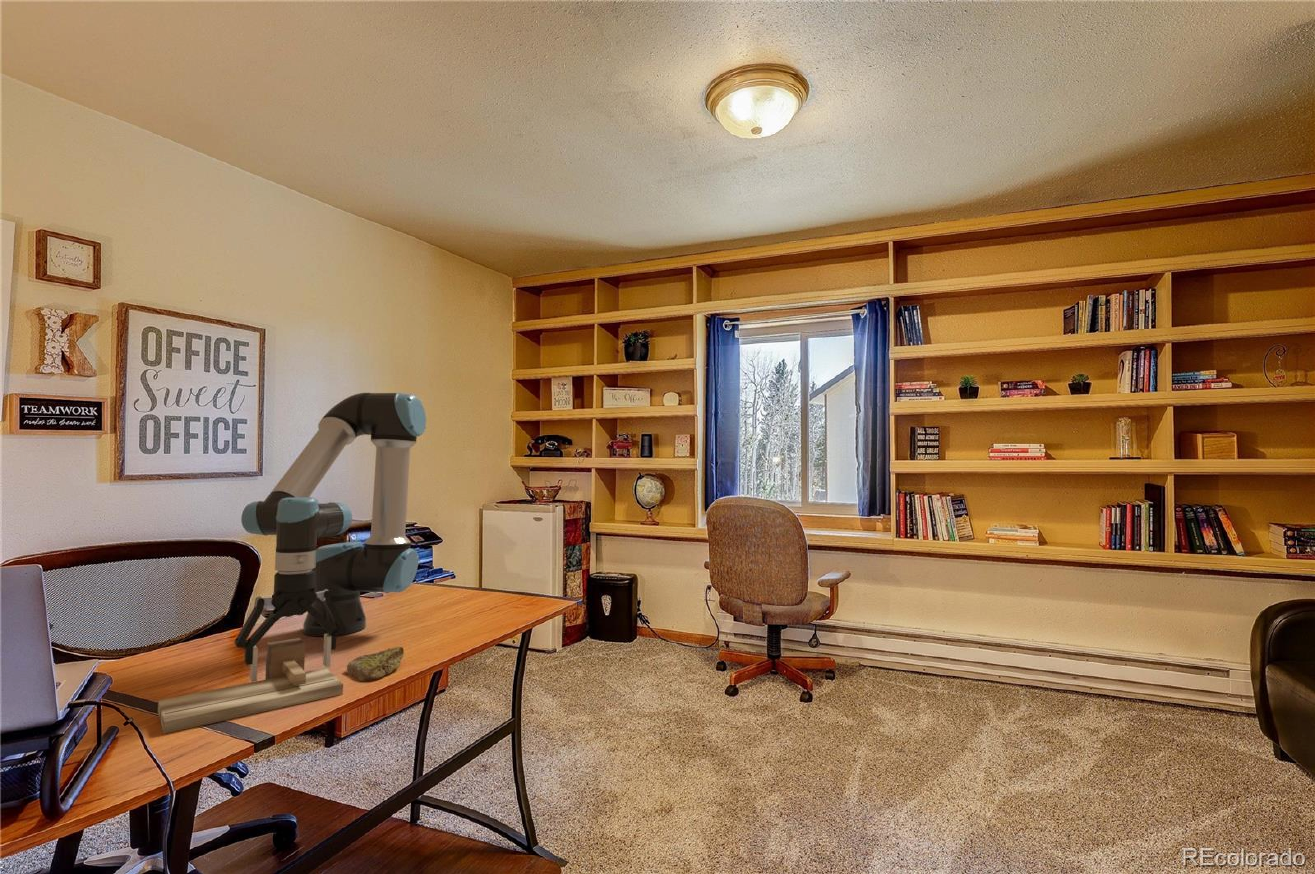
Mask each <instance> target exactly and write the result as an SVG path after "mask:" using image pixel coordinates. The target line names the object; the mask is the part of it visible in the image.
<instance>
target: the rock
mask: <svg viewBox="0 0 1315 874" xmlns="http://www.w3.org/2000/svg"><path fill="white" fill-rule="evenodd" d="M404 652H405V649H404V648H403V647H402V646H397V647H393V648H388V649H385V650H381V651H380V652H379V651H378V652H376V653H370V654H364V655H362V656H361V655H360V656H357V657H355V658H354V659H353V660H351V661H350V662H348V664H347V666H346V671H347V675H351V676H354V677H355V678H357V680H358V681H360V682H364V681H366V682H367V681H372V680H377V679H380V678H382V677H384V676H386V675H389V674H391V673H392V672H394V671H395V670H396V669H397V668H398V667H400V666H401V660H402V659H403V658H404Z"/></svg>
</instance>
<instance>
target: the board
mask: <svg viewBox="0 0 1315 874" xmlns="http://www.w3.org/2000/svg"><path fill="white" fill-rule="evenodd" d="M305 672H306V683H305V684H300V686H299V687H296V685H295V686H294V685H293V684H292V683H291V681H290V680H289V679H288V678H287V677H286V676H282V677H277V678H272V679H266V680H265V679H262V680H257V681H254V682H252V681H251V682H246V683H242V684H237V685H231V686H226V687H221V688H215V689H209V690H205V691H200V692H194V693H190V694H184V695H180V696H174V697H168V698H165V699H159V700H157V714H158V718H159V721H160V724H161V725H160V726H161V729H162V733H163V735H166V734H170V733H174V732H179V731H183V730H187V729H192V728H196V727H200V726H201V727H202V726H206V725H210V724H215V723H218V722H224V721H227V720H233V719H236V718H241V717H245V716H251V715H254V714H259V713H264V712H268V711H272V710H277V709H281V708H287V707H292V706H295V705H300V704H303V703H309V702H313V701H317V700H322V699H326V698H331V697H336V696H340V695H343V694H344V683H343V682H342V681H341V680H340V679H339V678H338V677H336V675H335V674H333V673H332V672H331V671H330V670H329V669H328V667H325V668H319V669H314V670H308V671H305Z"/></svg>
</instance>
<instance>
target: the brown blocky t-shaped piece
mask: <svg viewBox="0 0 1315 874" xmlns="http://www.w3.org/2000/svg"><path fill="white" fill-rule="evenodd" d="M305 655H306V643H305V641H303V640H302V639H301V638H300V637H297V638H290V639H289V638H288V639H284V640H277V641H271V642H267V643H266V656H265V657H266V659H265V661H266V662H265V679H264V680H266V679H272V678H277V677H282V676H286V677H287V678H288V679H289V680H290V681H291V683H292V684H293V685H294V686H295V685H296V687H299V686H300V684H305V683H306V672H307V671H305V659H306V658H305Z"/></svg>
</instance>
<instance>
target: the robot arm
mask: <svg viewBox="0 0 1315 874" xmlns="http://www.w3.org/2000/svg"><path fill="white" fill-rule="evenodd" d="M317 425H318V426H317V427H318V430H317V432H315V434H314V435H313V437H312V438H311V440H310V441H309V442H308V443H307V445H305V448H303V449H302V451H301V452H300V453H299V455H298V456H297V458H296V459H295V460H294V462H293V463H292V464H291V465H290V466H289V467H288V469H287V471H286V472H285V473H284V475H283V476H281V478H280V479H279V481H278V482H277V484H276V485H275V486H274V487H273V489H272V490H271V491H270V493H269V494H268V496H267V497H266V498H265V499H264V501H263V500H258V501H252V502H251V503H248V504H246V506H245V507H244V509H243V511H242V514H241V525H242V527H243V529H244V531H246V532H247V533H249V534H253V535H259V536H260V535H261V536H275V537H276V539H275V541H276V542H275V543H276V544H275V552H274V553H275V557H274V558H275V559H274V570H275V571H276V572H275V573H274V575H273V576H274V579H273V594H272V596H271V597H262V596H257V597H255V600H254V604H253V605H254V606H253V609H252V610H251V612H250V613H249V615H248V617H247V620H246V621H245V622H244V624H243V626H242V627H241V630H240V631H239V633H238V634H237V636H236V638H235V639H234V645H235V646H236V647H237V648H241V649H242V648H243V649H244V659H243V660H244V663H245V665H246V666H250V667H249V679H250V681H251V682H256V681H258V658H259V657H258V655H259V654H258V653H259V648H258V647H257V644H258V643H259V641H261V639H262V638H263V637H264V636H265V635H266V634H267V633H268V631H270V629H271V628H272V627H273V626H274V625H275V624H276V622H278V621H279V620H280V619H281V618H282V617H285V618H289V617H294V616H303V615H304V614H305V613H307V614H306V617H305V618H304V621H303V625H302V626H303V631H302V632H303V634H304V635H307V636H312V637H323V653H322V655H323V656H322V664H323V666H324V667H325V668H330V667H331V656H332V655H331V654H332V651H333V650H336V647H337V636H341V635H348V634H353V633H356V632H359V631H362V630H364V629H365V628H367V618H366V614H365V611H364V607H363V604H362V601H361V592H370V593H372V592H373V593H374V592H375V593H376V592H377V593H384V594H390V593H402V592H404V591H407V589H408V588H410V586H411V584H412V583H413V581H414V579H415V577H416V575H417V572H418V566H419V555H418V554H419V553H418V552H417V550H415V549H413V548H411V545H412V544H411V540H410V539H409V538H408V537H407V536H406V528H407V527H406V525H407V508H408V507H407V506H408V493H409V477H410V476H409V473H410V455H411V448H412V447H414V446H415V445H416V444H417V437H420V436H422V435H423V434H424V433H425V429H426V427H427V415H426V411H425V408H424V405H423V403H422V401H421V400H420V399H419V398H418V397H417V396H416V395H415V394H412V393H403V392H361V393H356V394H352V395H350V396H348V397H346V398H344V399H343V400H341V401H340V402H338V403H337V404H336V405H334V406H332V407H331V408H330V410H328V411H327V412H326V413H325V414H324V416H323V417H322V418H321V419H320V420H319V422H318V424H317ZM366 435H367V436H370V442H371V443H372V444H373V445H374V446H375V448H376V449H375V462H374V463H375V465H374V477H373V478H374V480H373V496H372V497H373V498H372V513H371V528H370V530H371V531H370V536H369V537H368V538H367V539H366V540H365V541H364V544H363V543H362V541H358V540H357V541H346V542H339V543H332V544H327V545H322V546H320V547H318V548H317V542H318V541H317V539H323V538H327V537H336V536H337V535H340V534H343V533H345V532H346V531H347V530H348V529H349V528H350V527H351V525H352V522H353V514H352V511H351V509H350V508H349V507H348V505H346V504H344V503H342V502H334V501H333V502H331V501H330V502H327V503H319V501H318V499H317V498H315V497H313V496H312V494H313V493H314V491H315V490H316V488H317V487H318V486H319V484H320V482H321V481H322V480H323V478H324V477H325V475H326V474H327V473H328V471H329V470H330V468H331V467H332V465H333V464H334V462H335V461H336V460H337V458H338V457H339V455H340V454H341V453H342V451H343V450H344V448H346V446H347V445H350V444H352V443H354V441H355V440H356V438H357V437H360V436H366ZM270 604H271V605H272V606H273V607H274V608H273V610H272V611H270V613H269V615H268V616H267V617H266V618H265V619H264V621H263V622H261V624H260V625H259V627H257V628H256V629H255V631H253V633H252V634H251V632H252V630H253V629H254V627H255V626H256V624H257V622H258V620H259V619H260V617H261V615H262V613H263V610H264V609H266V608H268V605H270ZM363 628H364V629H363ZM250 634H251V635H250Z"/></svg>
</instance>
